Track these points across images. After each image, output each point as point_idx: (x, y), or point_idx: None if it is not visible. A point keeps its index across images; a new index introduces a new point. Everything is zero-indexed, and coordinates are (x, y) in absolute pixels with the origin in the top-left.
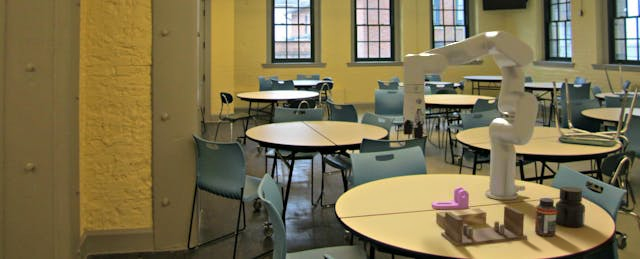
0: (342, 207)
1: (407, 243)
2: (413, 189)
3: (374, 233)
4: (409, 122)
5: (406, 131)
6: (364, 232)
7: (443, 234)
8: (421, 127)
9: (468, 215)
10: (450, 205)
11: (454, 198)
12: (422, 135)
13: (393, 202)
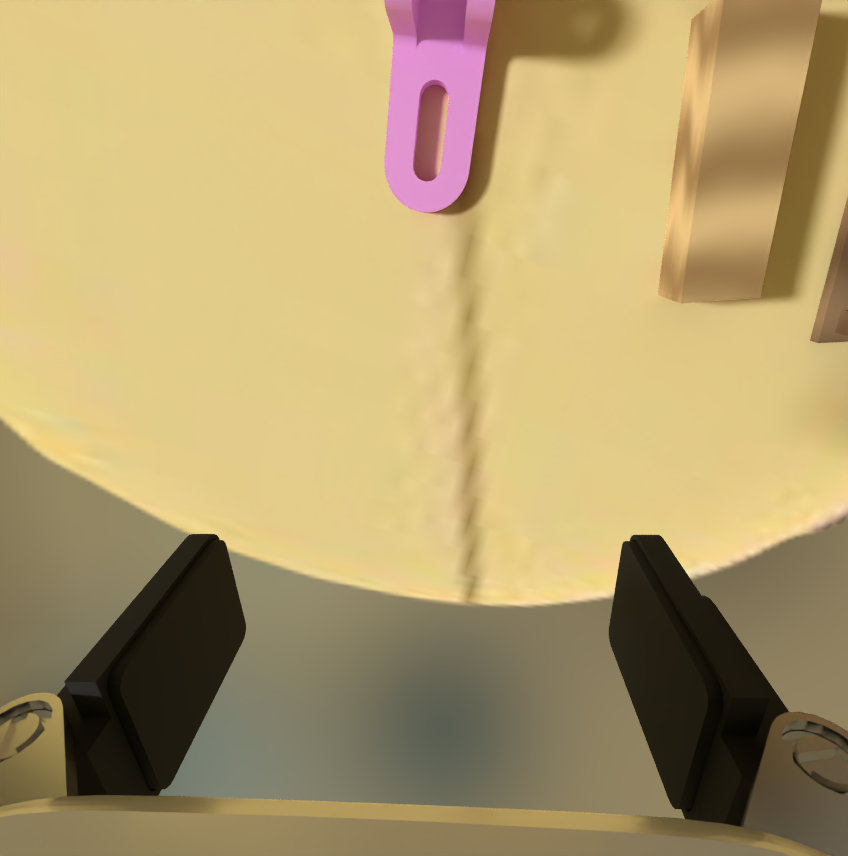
0: (353, 578)
1: (816, 491)
2: (61, 178)
3: None
4: (93, 766)
5: (222, 646)
6: None
7: (838, 341)
8: (811, 748)
9: (790, 133)
10: (474, 107)
11: (401, 29)
12: (676, 566)
13: (312, 376)
